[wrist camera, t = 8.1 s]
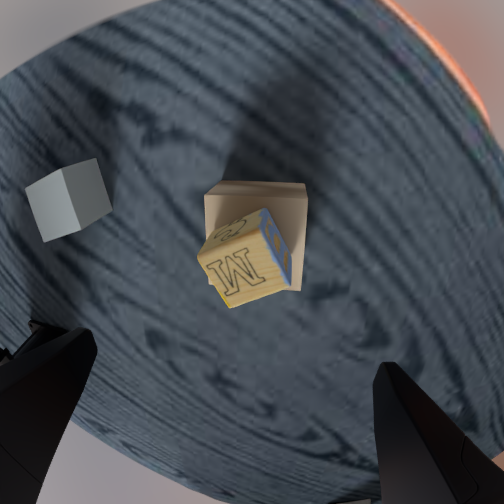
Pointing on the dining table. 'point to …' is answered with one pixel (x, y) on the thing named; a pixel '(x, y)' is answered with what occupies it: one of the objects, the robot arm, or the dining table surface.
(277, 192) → the beech block
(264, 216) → the alphabet block
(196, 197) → the dining table surface
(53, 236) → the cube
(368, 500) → the skincare box
